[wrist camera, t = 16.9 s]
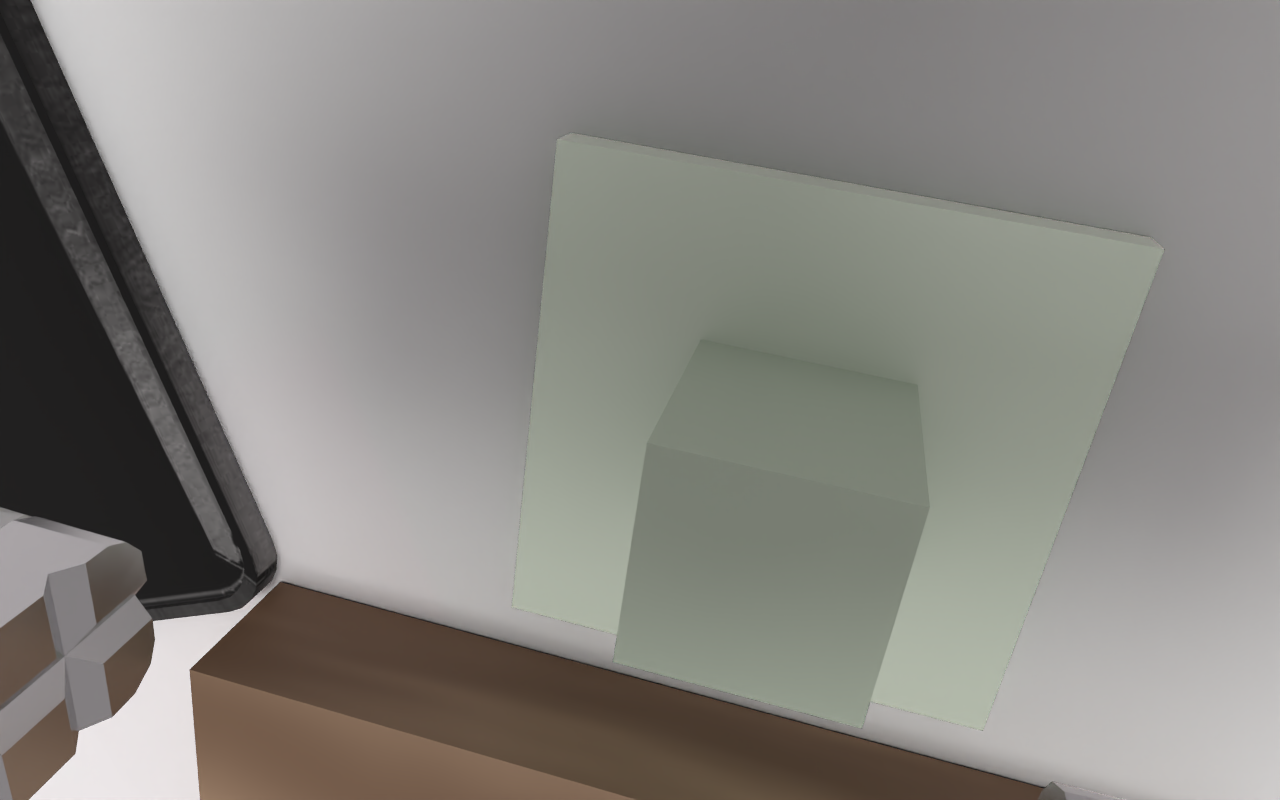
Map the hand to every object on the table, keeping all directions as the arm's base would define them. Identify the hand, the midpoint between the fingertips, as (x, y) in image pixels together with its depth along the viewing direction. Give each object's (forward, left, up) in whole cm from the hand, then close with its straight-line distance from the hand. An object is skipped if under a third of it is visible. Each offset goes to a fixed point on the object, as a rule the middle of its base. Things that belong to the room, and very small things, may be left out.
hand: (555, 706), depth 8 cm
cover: (+1, +2, -9) cm, 10 cm away
